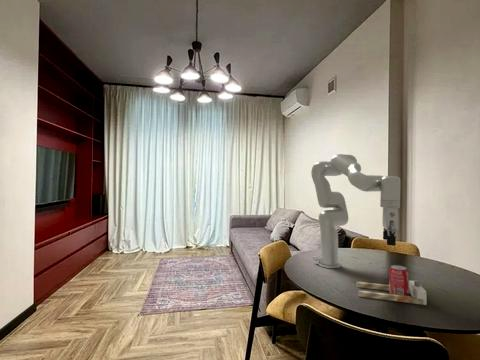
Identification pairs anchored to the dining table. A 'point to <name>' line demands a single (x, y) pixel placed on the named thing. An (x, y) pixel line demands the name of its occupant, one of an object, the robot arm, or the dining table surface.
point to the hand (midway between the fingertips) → (388, 242)
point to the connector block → (417, 291)
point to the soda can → (398, 280)
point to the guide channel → (385, 296)
